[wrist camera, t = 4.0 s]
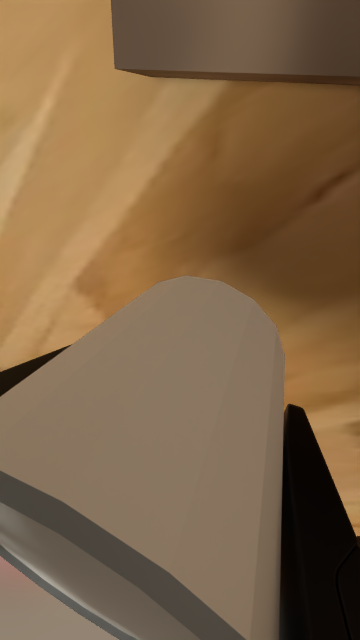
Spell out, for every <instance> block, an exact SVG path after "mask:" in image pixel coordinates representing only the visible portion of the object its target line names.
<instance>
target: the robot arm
mask: <svg viewBox="0 0 360 640" xmlns="http://www.w3.org/2000/svg"><path fill="white" fill-rule="evenodd" d="M71 345H72V344H71ZM71 345H69V346H66V347H64V348H61V349H59V350H56V351H53V352H51V353H48V354H46V355H43V356H40V357H38V358H35V359H33V360H30V361H28V362H25V363H22V364H20V365H17V366H15V367H12V368H9V369H7V370H4V371H2V372H0V397H1V396H2V395H3V394H5V393H6V392H8V391H9V390H10V389H12V388H13V387H14V386H16V385H17V384H19V383H20V382H21V381H23V380H24V379H25V378H27V377H28V376H30V375H31V374H32V373H34V372H35V371H36V370H38V369H39V368H41V367H42V366H43V365H45V364H46V363H47V362H49V361H50V360H52V359H53V358H54V357H56V356H57V355H59V354H60V353H61V352H63V351H64V350H65V349H67V348H68V347H70V346H71ZM279 640H360V536H357V537H356V535H355V532H354V530H353V527H352V525H351V523H350V520H349V518H348V515H347V513H346V510H345V508H344V506H343V503H342V501H341V498H340V496H339V493H338V491H337V489H336V486H335V484H334V481H333V479H332V476H331V474H330V472H329V469H328V467H327V464H326V462H325V459H324V457H323V455H322V452H321V450H320V447H319V445H318V443H317V440H316V438H315V435H314V433H313V430H312V428H311V426H310V423H309V421H308V418H307V416H306V413H305V411H304V409H303V408H301V407H299V406H296V405H293V404H288V405H287V407H286V409H285V412H284V423H283V471H282V520H281V568H280V616H279Z"/></svg>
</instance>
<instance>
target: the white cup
mask: <svg viewBox="0 0 360 640" xmlns="http://www.w3.org/2000/svg"><path fill="white" fill-rule="evenodd" d="M284 375H285V354H284V351H283V347H282V344H281V340H280V337H279V333H278V330H277V326H276V325H275V324H274V323H273V322H272V320H271V319H270V318H269V317H268V316H267V314H266V313H265V312H264V311H263V310H262V308H261V307H260V306H259V305H258V304H257V303H256V301H255V300H254V299H252V298H251V297H249V296H247V295H245V294H243V293H242V292H240V291H238V290H236V289H235V288H233V287H231V286H229V285H227V284H226V283H224V282H222V281H218V280H212V279H206V278H200V277H194V276H188V275H186V276H182V277H178V278H174V279H170V280H166V281H161V282H158V283H156V284H155V285H154V286H152V287H151V288H149V289H148V290H147V291H145V292H144V293H143V294H141V295H140V296H138V297H137V298H136V299H134V300H133V301H132V302H130V303H129V304H127V305H126V306H125V307H123V308H122V309H120V310H119V311H118V312H116V313H115V314H114V315H112V316H111V317H109V318H108V319H107V320H105V321H104V322H103V323H101V324H100V325H98V326H97V327H96V328H94V329H93V330H92V331H90V332H89V333H87V334H86V335H85V336H83V337H82V338H81V339H79V340H78V341H76V342H75V343H74V344H72V345H71V346H70V347H68V348H67V349H65V350H64V351H63V352H61V353H60V354H59V355H57V356H56V357H54V358H53V359H52V360H50V361H49V362H47V363H46V364H45V365H43V366H42V367H41V368H39V369H38V370H36V371H35V372H34V373H32V374H31V375H30V376H28V377H27V378H25V379H24V380H23V381H21V382H20V383H19V384H17V385H16V386H14V387H13V388H12V389H10V390H9V391H8V392H6V393H5V394H3V395H2V396H1V397H0V556H1V557H3V558H4V559H5V560H6V561H8V562H9V563H10V564H11V565H13V566H14V567H15V568H17V569H18V570H19V571H20V572H22V573H23V574H24V575H26V576H27V577H28V578H29V579H31V580H32V581H33V582H35V583H36V584H37V585H38V586H40V587H41V588H43V589H44V590H45V591H47V592H48V593H50V594H51V595H53V596H54V597H56V598H57V599H58V600H60V601H61V602H63V603H64V604H66V605H67V606H68V607H70V608H71V609H73V610H74V611H76V612H77V613H78V614H80V615H81V616H83V617H85V618H86V619H88V620H90V621H91V622H93V623H94V624H96V625H97V626H99V627H100V628H102V629H104V630H105V631H107V632H108V633H110V634H111V635H113V636H115V637H116V638H118V639H119V640H279V616H280V568H281V520H282V471H283V423H284Z"/></svg>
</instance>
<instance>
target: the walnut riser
mask: <svg viewBox="0 0 360 640" xmlns="http://www.w3.org/2000/svg"><path fill="white" fill-rule="evenodd" d="M111 10H112V28H113V46H114V64H115V69H118V70H122V71H127V72H131V73H136V74H140V75H145V76H149V77H165V78H191V79H216V80H241V81H266V82H292V83H317V84H342V85H360V0H111Z"/></svg>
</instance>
